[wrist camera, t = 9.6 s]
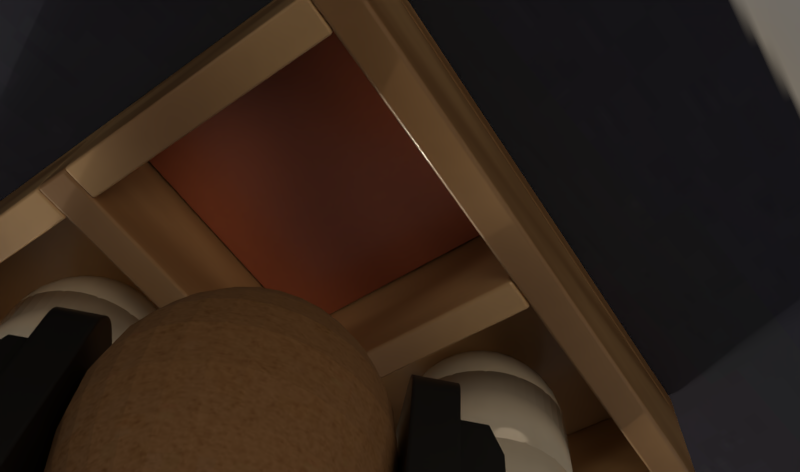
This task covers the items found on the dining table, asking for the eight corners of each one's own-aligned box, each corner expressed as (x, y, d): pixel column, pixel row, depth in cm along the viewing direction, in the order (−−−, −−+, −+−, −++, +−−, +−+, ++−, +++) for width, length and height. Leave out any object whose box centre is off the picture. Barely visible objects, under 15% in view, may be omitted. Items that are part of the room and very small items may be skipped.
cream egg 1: (116, 216, 18) (-23, 390, 13) (225, 329, 19) (141, 523, 14) (9, 287, 19) (-155, 470, 14) (119, 387, 21) (8, 584, 16)
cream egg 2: (507, 292, 18) (525, 491, 13) (583, 397, 20) (626, 610, 15) (374, 357, 20) (344, 560, 14) (455, 450, 21) (454, 662, 16)
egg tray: (364, -67, 15) (343, -35, 12) (670, 398, 20) (701, 490, 18) (-76, 256, 20) (-159, 330, 17) (270, 558, 25) (247, 648, 23)
